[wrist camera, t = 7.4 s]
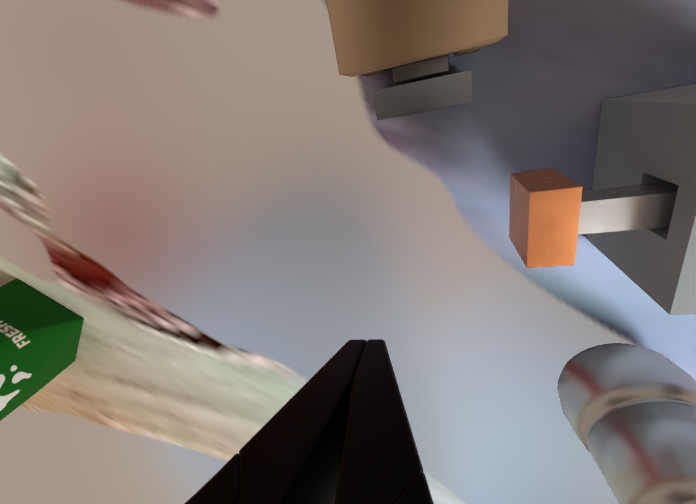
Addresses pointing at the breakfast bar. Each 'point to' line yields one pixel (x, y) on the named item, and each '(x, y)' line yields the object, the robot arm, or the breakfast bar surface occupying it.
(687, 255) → the block
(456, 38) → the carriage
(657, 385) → the plastic bottle
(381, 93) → the rail
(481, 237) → the breakfast bar surface
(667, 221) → the plunger
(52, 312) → the milk carton
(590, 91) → the breakfast bar surface
